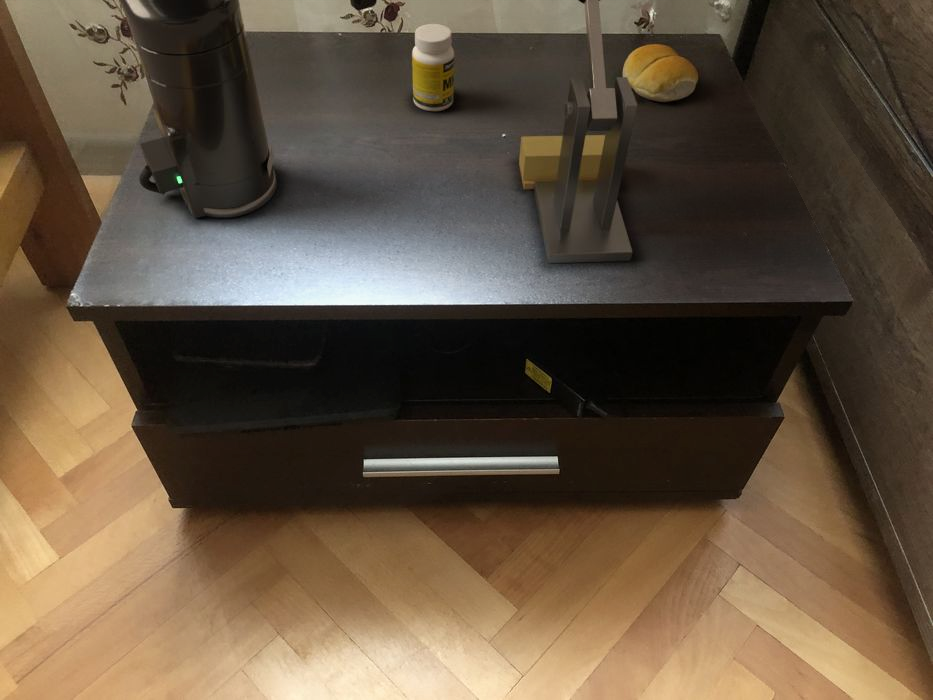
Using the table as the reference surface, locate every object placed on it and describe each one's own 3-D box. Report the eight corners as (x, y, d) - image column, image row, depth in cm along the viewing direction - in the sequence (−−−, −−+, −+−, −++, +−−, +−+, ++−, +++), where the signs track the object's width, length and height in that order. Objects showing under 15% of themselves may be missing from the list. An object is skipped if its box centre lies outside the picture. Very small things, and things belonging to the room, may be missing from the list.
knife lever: (568, -20, 72) (574, -43, 68) (602, -20, 72) (610, -43, 69) (579, 133, 69) (587, 116, 66) (615, 132, 69) (624, 115, 66)
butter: (518, 163, 84) (520, 133, 81) (611, 161, 84) (617, 131, 82) (522, 189, 81) (525, 159, 78) (619, 187, 82) (625, 157, 79)
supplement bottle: (448, 115, 89) (449, 46, 83) (408, 109, 90) (406, 40, 83) (457, 92, 92) (458, 24, 86) (418, 87, 93) (417, 19, 86)
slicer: (533, 190, 81) (548, 57, 70) (609, 188, 82) (636, 56, 70) (547, 263, 74) (566, 129, 63) (630, 261, 74) (664, 128, 63)
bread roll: (661, 58, 99) (668, 28, 95) (705, 94, 93) (714, 63, 90) (606, 72, 96) (612, 42, 93) (648, 110, 91) (655, 79, 88)
